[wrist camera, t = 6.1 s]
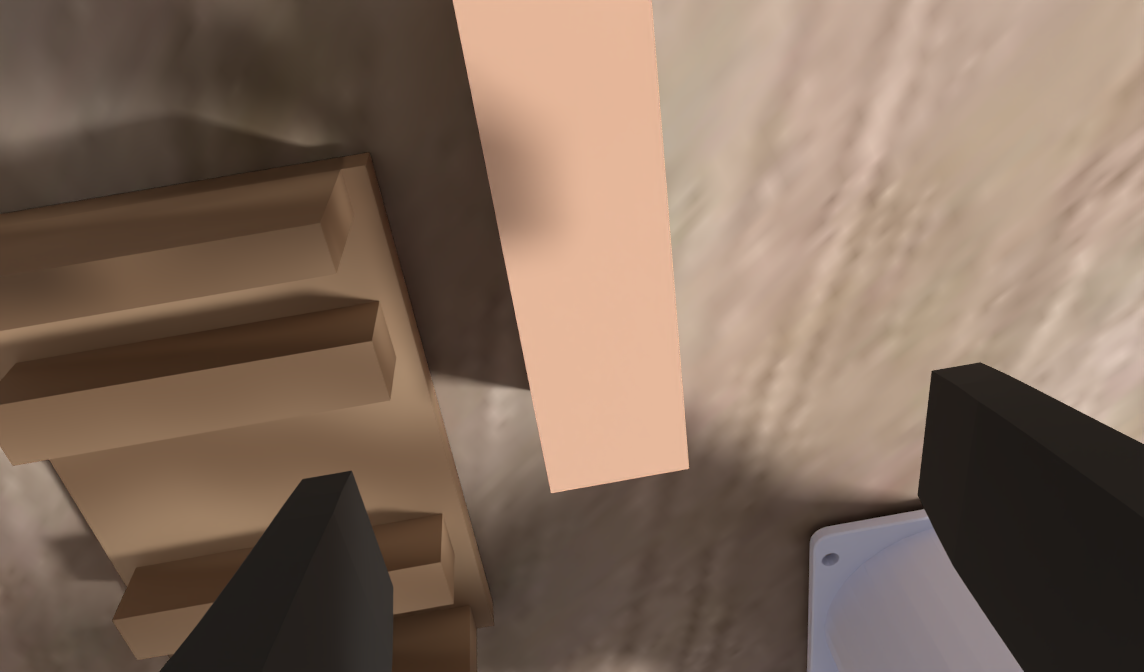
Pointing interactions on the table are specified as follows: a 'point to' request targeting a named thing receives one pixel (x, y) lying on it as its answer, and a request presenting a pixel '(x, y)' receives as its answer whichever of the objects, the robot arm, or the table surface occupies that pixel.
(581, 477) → the peach rectangular block
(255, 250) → the rack
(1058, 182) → the table surface
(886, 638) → the robot arm
